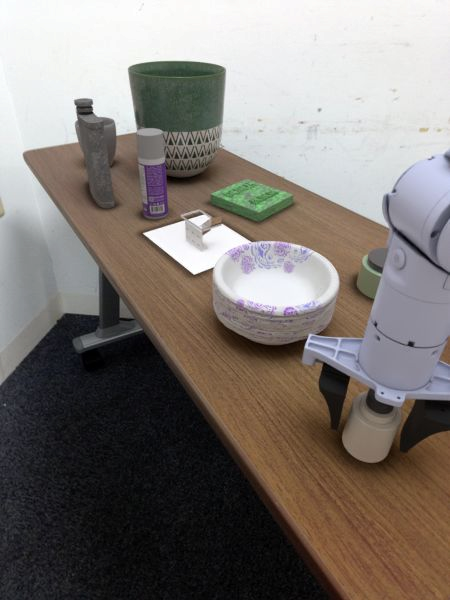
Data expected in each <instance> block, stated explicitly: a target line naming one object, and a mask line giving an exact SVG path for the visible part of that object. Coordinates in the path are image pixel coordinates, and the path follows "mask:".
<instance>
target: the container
mask: <svg viewBox="0 0 450 600" xmlns="http://www.w3.org/2000/svg"><path fill="white" fill-rule="evenodd" d="M135 136H136V151H137V163H138V174H139V183H140V192H141V193H140V195H141V204H142V213H143V217H145V218H146V219H148V220H162V219H164V218H166V217H168V216H169V201H168V184H167V181H168V180H167V175H166V165H165V153H164V141H163V131H162V130H160V129H155V128H145V129H140V130H137V129H136V131H135Z"/></svg>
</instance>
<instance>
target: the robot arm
mask: <svg viewBox="0 0 450 600" xmlns="http://www.w3.org/2000/svg"><path fill="white" fill-rule="evenodd" d="M381 212H382V216H383V218H384V220H385V222H386V224H387V226H388V230H389V231H388V236H387V240H386V244H385V246H386V248H389V251H388V255H387V258H386V262H385V265H384V268H383V272H382V276H381V279H380V282H379V286H378V289H377V293H376V296H375V299H373V303H372V307H371V310H370V313H369V317H368V320H367V324H366V327H365V331H364V335H363V337H337V336H323V335H317V334H316V335H313V334H309V336H308V338H306V339H307V340H306V342H305V344H304V348H303V353H302V358H301V364H302V365H307V366H311V367H313V366H315V365H316V363H318V364H322V366H321V371H320V373H319V374H320V375H319V378H318V390H319V392H320V393H321V395H322V397H323V398H324V400H325V403H326V406H327V408H328V413H329V420H330V426H329V428H330V430H333V431H336V432H338V430H339V427H340V423H341V418H342V415H343V410H344V405H345V401H346V398H347V395H348V394H347V393H348V390H349V386H350V385H349V384H350V381H351V378H352V379H353V380H355V381H357V382H359V383H361V384H362V385H364V386H366V387H368V388H369V389H370V388H371V389H373V390H374V391H375V399H376V400H377V401H379V402H381V403H385V404H388V405H392V406H395V407H400V408H401V407H403V405H404V403H405V400H414V403H413V405H412V407H411V410H410V412H409V414H408V415H407V418H406V419H405V421H404V423H403V425H402V428H401V431H400V433H399V434H400V435H399V445H398V446H399V447H398V451H399V452H401V453H404V454H407V453H409V452H410V451H411V449H413V448H414V447H415V446H416V445H418V444H419V443H421V442H422V441H424V440H425V439H427V438H430V437H431V436H434V435H437V434H439V433H440V434H441V433H443V432H444V433H445V432H450V364H448V363H447V362H445V361H442V360H440V359H441V357H442V355H443V354H442V353H443V352H444V350H445V347H446V345H447V343H448V341H449V338H450V147H449V148H448V149H447V150H446V151H445V152H444V153H437V154H433V155H431V157H426V158H423V159H421V160H419V161H416V162H414V163H413V164H411V165H410V166H409V167H408V168H407V169H405V170H404V171H403V172H402V173H401V175H400V176H399V177H398V178H397V179H396V181H395V183H394V184H393V187H392V190H391V191H389V192H385V193H384V194H383V196H382V201H381Z"/></svg>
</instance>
